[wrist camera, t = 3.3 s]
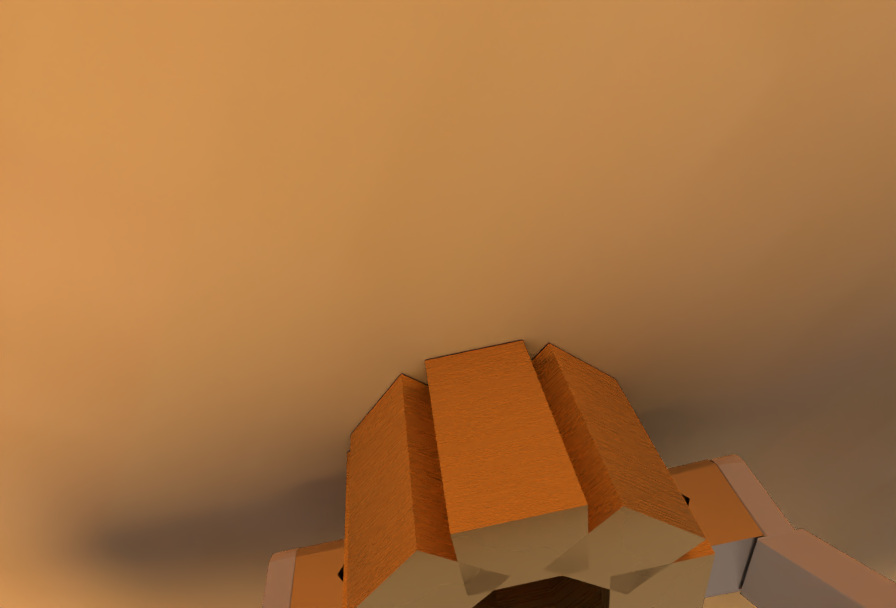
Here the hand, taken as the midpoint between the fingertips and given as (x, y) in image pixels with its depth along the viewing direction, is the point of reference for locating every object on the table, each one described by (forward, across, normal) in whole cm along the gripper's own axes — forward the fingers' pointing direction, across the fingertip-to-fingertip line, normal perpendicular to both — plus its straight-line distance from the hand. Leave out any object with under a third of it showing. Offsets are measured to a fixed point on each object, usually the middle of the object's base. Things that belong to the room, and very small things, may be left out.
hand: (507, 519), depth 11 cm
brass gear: (+2, 0, 0) cm, 2 cm away
